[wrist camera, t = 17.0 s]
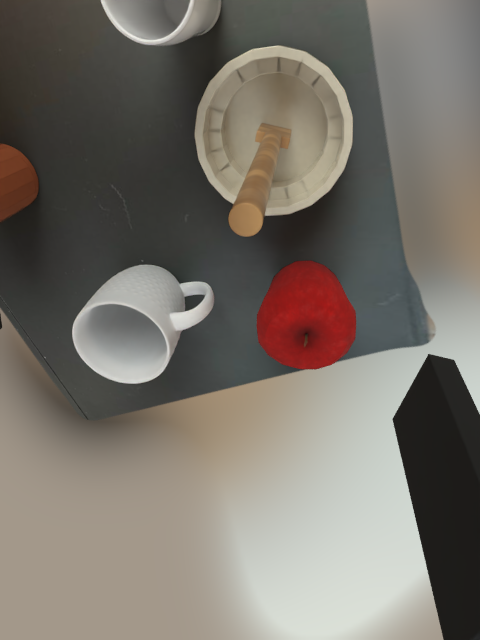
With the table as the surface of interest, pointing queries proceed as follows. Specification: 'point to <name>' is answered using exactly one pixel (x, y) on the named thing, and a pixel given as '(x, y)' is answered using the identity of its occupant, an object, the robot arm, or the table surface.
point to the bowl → (279, 110)
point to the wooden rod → (258, 181)
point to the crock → (15, 182)
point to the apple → (306, 317)
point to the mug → (137, 323)
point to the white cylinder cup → (162, 19)
